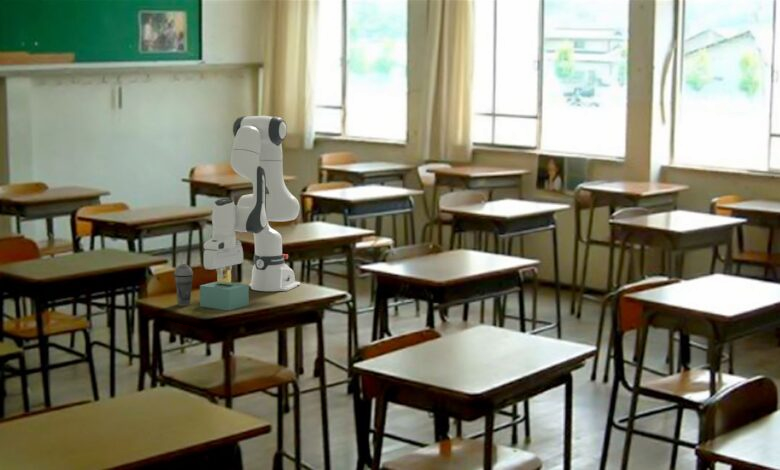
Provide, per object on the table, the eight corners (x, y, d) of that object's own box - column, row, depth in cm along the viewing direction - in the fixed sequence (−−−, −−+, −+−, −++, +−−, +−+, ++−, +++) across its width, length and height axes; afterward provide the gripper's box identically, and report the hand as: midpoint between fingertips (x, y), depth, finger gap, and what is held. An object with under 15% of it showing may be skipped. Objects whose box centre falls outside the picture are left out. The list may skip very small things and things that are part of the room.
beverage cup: (191, 306, 458) (191, 254, 455) (172, 306, 458) (171, 254, 455) (195, 302, 465) (194, 251, 462) (176, 302, 465) (175, 251, 462)
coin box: (219, 300, 469) (219, 280, 468) (248, 305, 462) (248, 284, 461) (200, 306, 459) (199, 285, 458) (229, 310, 452) (229, 289, 451)
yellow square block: (220, 281, 461) (220, 268, 461) (231, 282, 459) (231, 269, 458) (217, 282, 460) (217, 269, 459) (227, 283, 457) (227, 270, 456)
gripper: (234, 238, 467) (234, 273, 469) (200, 244, 450) (200, 281, 452) (247, 239, 464) (247, 275, 466) (214, 246, 447) (214, 282, 449)
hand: (224, 278), depth 459 cm, fingers closed on yellow square block, 2 cm apart
